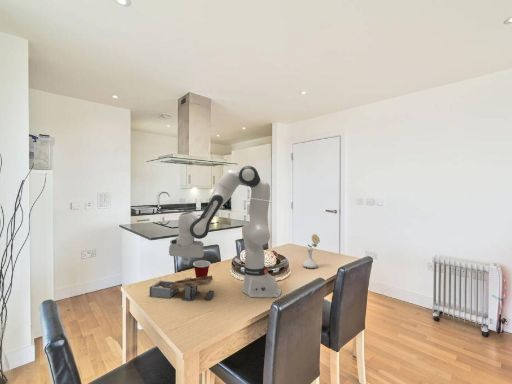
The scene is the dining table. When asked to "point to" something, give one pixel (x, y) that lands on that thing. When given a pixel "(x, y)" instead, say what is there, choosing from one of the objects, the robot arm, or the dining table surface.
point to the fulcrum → (190, 293)
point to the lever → (191, 282)
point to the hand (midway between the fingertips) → (186, 264)
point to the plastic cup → (201, 268)
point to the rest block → (209, 295)
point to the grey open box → (163, 289)
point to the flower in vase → (310, 262)
